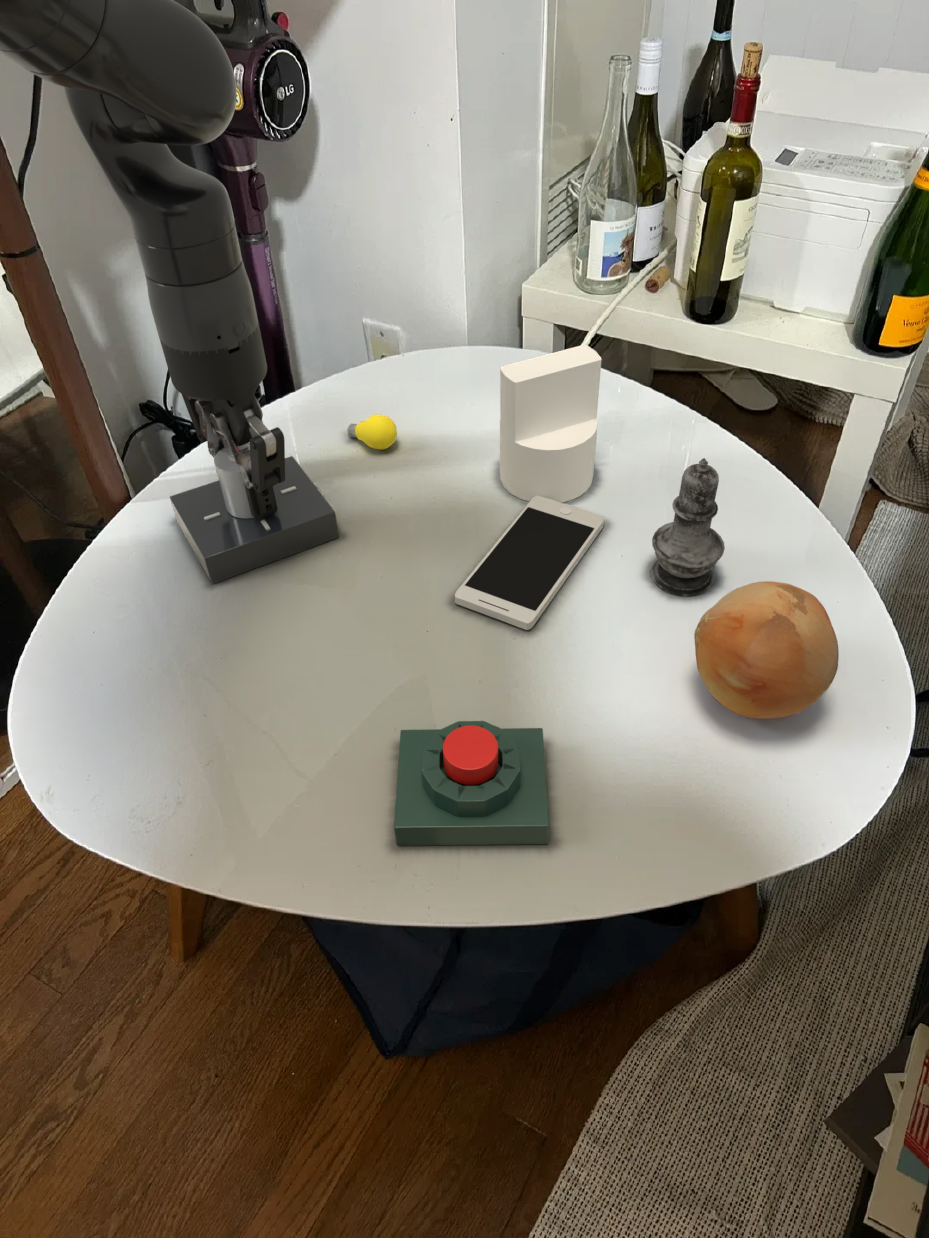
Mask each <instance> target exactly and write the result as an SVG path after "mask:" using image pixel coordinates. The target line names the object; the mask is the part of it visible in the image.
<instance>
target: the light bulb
mask: <svg viewBox="0 0 929 1238" xmlns="http://www.w3.org/2000/svg"><path fill="white" fill-rule="evenodd" d="M346 431H347V435H348V436H349V437H350V438H354V439H355V438H357V439H358V440H359V441H362V442H363V443H364V444H365V445H367V446H368V447H369V448H371V449H375V450H380V451H382V450H387V449H388V448H389V447H391V446H392V445H393V444H394V443H395V441H396V438H397V436H398V430H397V425H396V423H395V422H394V420H393V419H392V418H391V417H390V416H387V415H383V414H378V413H376V414H372V415H371V416H369V417H368V418H366V419H365V420H362V421H359V422H358V423H349V425H348V426H347V429H346Z"/></svg>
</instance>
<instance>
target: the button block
mask: <svg viewBox="0 0 929 1238" xmlns="http://www.w3.org/2000/svg"><path fill="white" fill-rule="evenodd" d="M463 726H479V727H482V728H484V729H486V730H488V731H489V732H491V733H492V734H493V735H494V737H495V738H496V740H497V743H498V768H497V770H496V772H495V774H494V775H493V776H492V777H491V778H490V779H489V780H487V781H486V782H484V783H481V784H478V785H464V784H460V783H458V782H456V781H454V780H453V779H451V778H450V777H449V775H448V774H447V773H446V771H445V768H444V759H443V744H444V741H445V739H446V737H447V736H448V735H449V734H450V733H451V732H452V731H454V730H455V729H457V728H460V727H463ZM544 742H545V741H544V729H543V727H515V728H513V727H511V728H510V727H508V728H504V727H503V728H501V727H498V726H496V725H495V724H491V723H489V722H487V721H485V720H458V721H455V722H453V723H451V724H449V725H447V726H445V727H443V728H440V729H439V728H438V729H435V728H434V729H433V728H432V729H431V728H430V729H429V728H428V729H401V730H400V732H399V748H398V764H397V777H396V794H395V807H394V821H393V830H394V837H395V843H396V846H402V847H403V846H479V845H480V846H484V845H485V846H486V845H487V846H488V845H491V846H492V845H548V844H549V838H550V837H549V836H550V815H549V814H550V812H549V801H548V785H547V771H546V770H547V769H546V758H545V743H544Z"/></svg>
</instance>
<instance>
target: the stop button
mask: <svg viewBox="0 0 929 1238" xmlns="http://www.w3.org/2000/svg"><path fill="white" fill-rule="evenodd" d="M443 759H444V768H445V771H446V773H447V774H448V775H449V777H450V778H451V779H453V780H454V781H456V782H458V783H460V784H464V785H478V784H481V783H484V782H486V781H487V780H489V779H490V778H491V777H492V776H493V775H494V774H495V772H496V770H497V768H498V743H497V740H496V738H495V737H494V735H493V734H492V733H491V732H489V731H488V730H486V729H484V728H482V727H479V726H463V727H460V728H457V729H455V730H454V731H452V732H451V733H450V734H449V735H448V736H447V737H446V739H445V741H444V744H443Z"/></svg>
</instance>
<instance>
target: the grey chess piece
mask: <svg viewBox="0 0 929 1238" xmlns="http://www.w3.org/2000/svg"><path fill="white" fill-rule="evenodd" d="M680 481H681V482H680V488H679V493H678V496H676V497H675V498H674V499H673V502H672V510H673V512H674V516H673V521H671V522H668V523H665V524H663V525H662V526H660V527H658V528H657V529H656V531H655V532H653V536H652V538H651V543H652V548H653V550H654V553H655V554H654V555H655V557H656V560H655V561H654V562H653V564H652V566H651V569H650V576H651V579H652V581H653V583H654V584H655V585H656V586H657V588H659V589H661V590H662V591H663V592H665V593H668V594H670V595H673V596H677V597H696V596H699V595H702V594H704V593H706V592H708V591H709V590H710V589H711V587H712V586H713V584H714V581H715V575H714V574H715V573H714V570H713V567H714V566H715V565H716V564H717V563H718V561H719V560H720V559H721V558H722V557H723V555H724V552H725V548H726V547H725V541H724V540H723V538H722V536H721V535H720V534H719V533H718V532H717V531H716V530H715V529H713V528H712V527H711V526H712V521H713V518H714V517H715V516H717V514H718V512H719V507H718V503H717V502H716V496H717V491H718V488H719V487H718V486H719V482H720V477H719V473H718V472H717V470H716V469H715V468H714V467H713V466H711V465H709V461H708V460H707V459H706V457H703V458H702V459H700V460H699V461H698V463H694V464H691V465H689V466H688V467H687V468H685V470H684V471H683V473H682V476H681V480H680Z"/></svg>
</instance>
